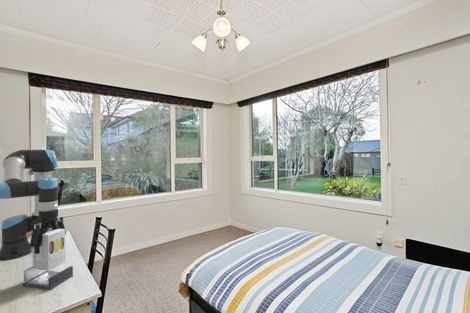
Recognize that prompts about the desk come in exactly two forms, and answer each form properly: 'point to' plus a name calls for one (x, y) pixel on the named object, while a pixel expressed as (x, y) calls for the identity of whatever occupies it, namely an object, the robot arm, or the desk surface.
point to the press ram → (30, 271)
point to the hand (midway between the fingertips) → (49, 254)
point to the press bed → (49, 279)
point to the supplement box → (51, 250)
